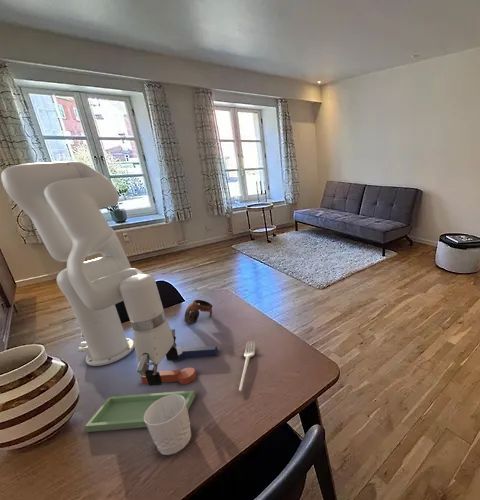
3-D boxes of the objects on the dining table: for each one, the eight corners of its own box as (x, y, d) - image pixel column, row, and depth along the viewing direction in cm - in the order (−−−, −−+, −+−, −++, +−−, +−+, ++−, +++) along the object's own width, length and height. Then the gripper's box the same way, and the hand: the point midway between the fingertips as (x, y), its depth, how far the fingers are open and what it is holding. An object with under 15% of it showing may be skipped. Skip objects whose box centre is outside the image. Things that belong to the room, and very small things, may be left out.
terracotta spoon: (140, 387, 83) (137, 380, 82) (149, 375, 87) (146, 369, 86) (192, 383, 84) (190, 376, 83) (198, 372, 88) (196, 365, 87)
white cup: (166, 426, 71) (156, 395, 67) (199, 424, 72) (191, 392, 68) (147, 460, 64) (135, 426, 60) (185, 456, 64) (175, 423, 61)
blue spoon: (219, 349, 97) (218, 343, 96) (214, 358, 93) (213, 352, 92) (174, 352, 96) (173, 346, 95) (168, 361, 92) (166, 355, 91)
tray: (87, 432, 70) (84, 426, 69) (111, 402, 78) (109, 396, 77) (181, 424, 72) (179, 418, 71) (195, 395, 80) (194, 390, 79)
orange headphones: (186, 315, 117) (193, 296, 117) (210, 322, 120) (217, 304, 120) (175, 325, 106) (184, 304, 106) (202, 333, 108) (210, 312, 108)
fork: (234, 393, 80) (232, 388, 79) (246, 346, 99) (245, 341, 98) (246, 392, 80) (245, 386, 80) (256, 345, 99) (255, 340, 98)
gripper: (152, 304, 86) (166, 352, 92) (112, 341, 69) (132, 397, 75) (178, 302, 86) (191, 350, 92) (145, 339, 70) (163, 394, 76)
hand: (165, 371), depth 84 cm, fingers open, 9 cm apart
